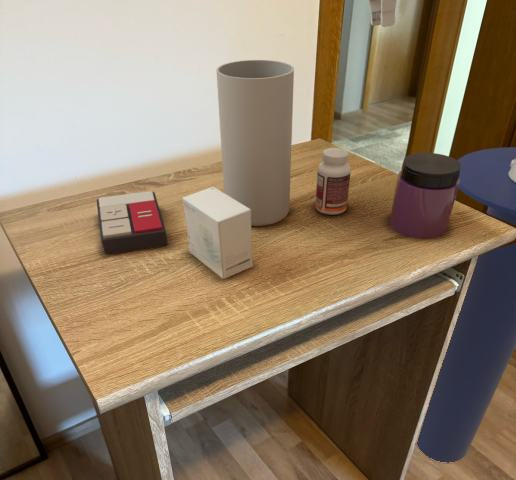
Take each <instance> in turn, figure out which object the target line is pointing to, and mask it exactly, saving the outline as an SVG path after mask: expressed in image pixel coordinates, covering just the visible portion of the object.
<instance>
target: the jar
mask: <svg viewBox="0 0 516 480" xmlns="http://www.w3.org/2000/svg"><path fill="white" fill-rule="evenodd" d="M459 183H460V180H459V178H458V180H457V182H456V183H455V184H454V185H452V186H449V187H444V188H426V187H420V186H416V185H413V184H411V183H408V182H407V181H405V180H404V179H403V178H402V177H401V170H400V171H399V173H398V174H397V177H396V183H395V189H394V195H393V201H392V206H391V210H390V215H389V216H390V217H389V226H390V227H391V229H392V230H393V231H395V232H396V233H398V234H400V235H402V236H405V237H408V238H413V239H421V240H422V239H423V240H427V239H435V238H438V237H441V236H443V235H444V234H445V233H447V230H448V226H449V223H450V219H451V216H452V212H453V208H454V205H455V201H456V198H457V193H458V190H459V188H458V187H459Z"/></svg>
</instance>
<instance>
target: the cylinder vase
mask: <svg viewBox="0 0 516 480" xmlns="http://www.w3.org/2000/svg"><path fill="white" fill-rule="evenodd" d="M215 71H216V83H217V84H216V85H217V87H216V88H217V100H218V101H217V103H218V117H219V132H220V149H221V151H220V152H221V167H222V182H223V183H222V184H223V193H225V194H226V195H228V196H230V197H231V198H233V199H234V200H236V201H238V202H239V203H241V204H243V205H244V206H246V207H247V208H249V209H251V227H260V226H261V227H265V226H270V225H273V224H277V223H278V222H281V221H282V220H283V219H285V218H286V217H287V216H288V214H289V213H290V203H291V201H290V200H291V172H292V171H291V170H292V165H291V164H292V145H293V144H292V143H293V142H292V140H293V113H294V111H293V110H294V109H293V107H294V81H295V80H294V79H295V67H294V66H293V65H291V64H289V63H286V62H284V61H278V60H270V59H246V60H235V61H231V62H227V63H224V64H221V65H219V66H218V67H216V70H215Z"/></svg>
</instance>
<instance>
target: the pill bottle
mask: <svg viewBox="0 0 516 480" xmlns="http://www.w3.org/2000/svg"><path fill="white" fill-rule="evenodd" d="M321 159H322V161H321V162H320V163H319V164H318V167H317V173H316V175H317V176H316V189H315V203H314V204H315V205H314V206H315V209H316V210H317V212H318V213H321V214H324V215H328V216H329V215H336V216H337V215H341V214H342V213H344V212H345V211H347V208H348V201H349V191H350V180H351V173H352V172H351V171H352V167H351V165H350V164H349V162H348V160H349V151H348V150H346V149H344V148H340V147H328V148H326V149H324V150H323V151H322V157H321Z"/></svg>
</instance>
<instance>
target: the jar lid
mask: <svg viewBox="0 0 516 480" xmlns="http://www.w3.org/2000/svg"><path fill="white" fill-rule="evenodd" d="M457 160H458V159H456V158H454V157H453V156H449V155H445V154H442V153H435V152H417V153H412V154H409V155H407V156H405V157H404V158H403V161H402V165H401V169H400V171H401V177H402V178H403V179H404V180H405V181H407V182H408V183H411V184H413V185H416V186H420V187H426V188H444V187H449V186H452V185H454V184H455V183H456V182H457V180H458V178H459V174H460V169H461V164H460V163H459V162H458V161H457Z"/></svg>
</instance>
